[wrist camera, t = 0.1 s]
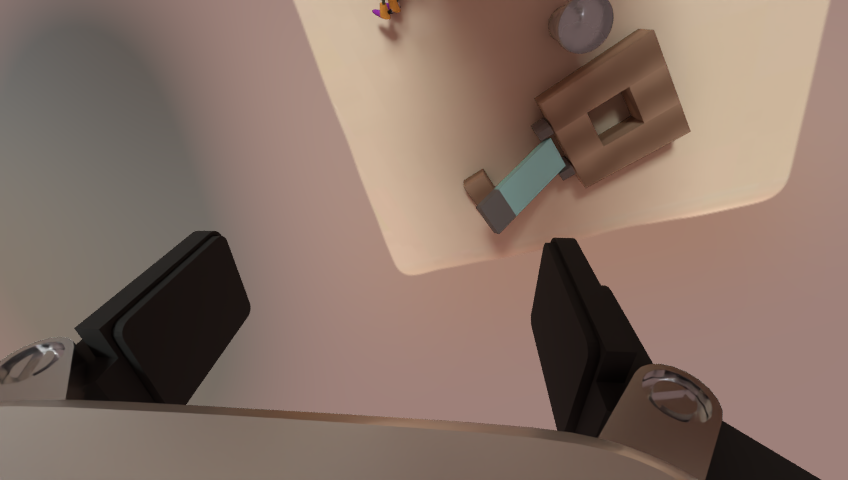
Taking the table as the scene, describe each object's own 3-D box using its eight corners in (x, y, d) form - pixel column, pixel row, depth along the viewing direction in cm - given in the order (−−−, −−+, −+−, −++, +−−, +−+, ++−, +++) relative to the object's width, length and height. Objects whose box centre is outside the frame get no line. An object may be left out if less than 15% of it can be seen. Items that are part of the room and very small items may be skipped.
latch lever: (475, 206, 40) (480, 207, 39) (544, 138, 42) (550, 137, 41) (494, 232, 41) (499, 233, 40) (559, 165, 44) (565, 165, 43)
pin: (534, 18, 38) (549, 17, 32) (575, -14, 36) (600, -21, 30) (553, 57, 40) (572, 64, 33) (593, 29, 38) (621, 31, 32)
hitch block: (446, 157, 47) (446, 167, 43) (638, 29, 38) (655, 30, 35) (493, 223, 51) (496, 237, 48) (674, 123, 42) (692, 132, 39)
